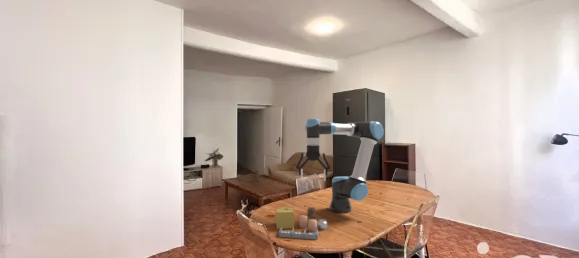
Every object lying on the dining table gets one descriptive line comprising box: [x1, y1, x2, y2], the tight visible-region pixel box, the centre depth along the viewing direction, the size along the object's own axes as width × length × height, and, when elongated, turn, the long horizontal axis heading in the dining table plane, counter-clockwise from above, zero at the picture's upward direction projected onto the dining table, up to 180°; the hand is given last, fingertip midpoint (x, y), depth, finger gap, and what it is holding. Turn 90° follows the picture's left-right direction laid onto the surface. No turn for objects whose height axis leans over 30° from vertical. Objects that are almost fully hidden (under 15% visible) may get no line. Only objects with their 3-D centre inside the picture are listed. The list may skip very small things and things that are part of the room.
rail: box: [278, 227, 319, 240], centre depth 144 cm, size 21×8×3 cm, turn 80°
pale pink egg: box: [307, 218, 317, 233], centre depth 149 cm, size 5×5×6 cm
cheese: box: [275, 206, 296, 230], centre depth 157 cm, size 10×11×10 cm
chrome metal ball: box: [316, 218, 328, 231], centre depth 153 cm, size 6×6×4 cm
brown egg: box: [298, 214, 308, 229], centre depth 156 cm, size 5×5×6 cm
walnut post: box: [307, 206, 316, 220], centre depth 164 cm, size 4×4×8 cm
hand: (313, 180), depth 157 cm, fingers open, 13 cm apart
